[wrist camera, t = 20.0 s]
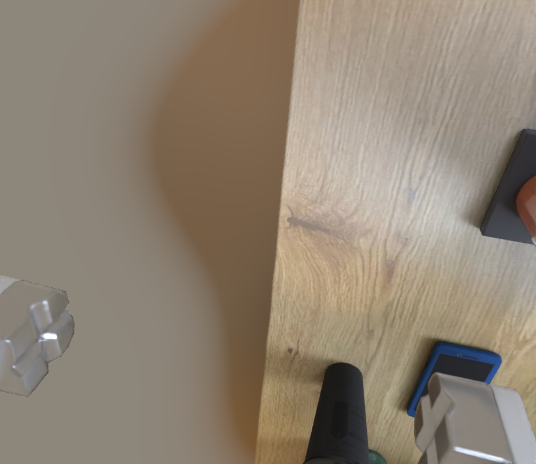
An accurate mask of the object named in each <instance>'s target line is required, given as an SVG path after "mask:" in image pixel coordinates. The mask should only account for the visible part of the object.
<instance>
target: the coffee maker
mask: <svg viewBox="0 0 536 464" xmlns="http://www.w3.org/2000/svg"><path fill="white" fill-rule="evenodd" d="M534 175H536V130H531V129H523V131H522V133H521V136H520V138H519V140H518V142H517V145H516V147H515V149H514V152H513V154H512V156H511V158H510V161H509V163H508V165H507V168H506V170H505V172H504V174H503V177H502V179H501V181H500V184H499V186H498V188H497V190H496V193H495V195H494V197H493V200H492V202H491V204H490V206H489V209H488V211H487V213H486V216H485V218H484V220H483V222H482V225H481V227H480V231H481V234H482V235H483V236H489V237H494V238H500V239H505V240H511V241H517V242H522V243H528V244H534V243H533V241H532V239H531V238H530V236H529V234H528V232H527V231H526V229H525V227H524V225H523V224H522V222H521V220H520V217H519V216H518V213H517V210H516V199H517V195H518V193H519V191H520V189H521V188H522V186H523V185H524V184H525V183H526V182H527V181H528V180H529V179H530V178H532V177H533V176H534ZM534 245H535V244H534Z"/></svg>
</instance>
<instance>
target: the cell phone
mask: <svg viewBox="0 0 536 464" xmlns="http://www.w3.org/2000/svg"><path fill="white" fill-rule="evenodd" d="M501 362H502V360H501V357H500V355H498V354H496V353H492V352H487V351H483V350H478V349H473V348H468V347H463V346H458V345H454V344H449V343H437V344H436V345H435V346H434V349H433V351H432V353H431V355H430V357H429V360H428V362H427V364H426V366H425V369H424V371H423V373H422V375H421V378H420V380H419V382H418V384H417V387H416V389H415V391H414V393H413V396H412V398H411V400H410V402H409V405H408V408H407V414H408V415H409V416H412V417H415V415H416V409H417V406H418V404H419V401H420V399H421V397H422V396H425V395H427V394H429V390H428V382H429V380H430V378H431V376H432V375H433V374H434V373H435V372H437V373H441V374H446V375H451V376H456V377H461V378H465V379H470V380H475V381H480V382H484V383H486V384H490V382H491V380H492V379H493V377H494V375H495V374H496V372H497V370H498V369H499V367H500V365H501Z"/></svg>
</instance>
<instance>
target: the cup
mask: <svg viewBox="0 0 536 464" xmlns="http://www.w3.org/2000/svg"><path fill="white" fill-rule="evenodd" d="M516 210H517V213H518V216H519V217H520V220H521V222H522V224H523V225H524V227H525V229H526V231H527V232H528V234H529V236H530V238H531V239H532V241H533V243H534V244H535V246H536V175H534V176H533V177H532V178H530V179H529V180H528V181H527V182H526V183H525V184H524V185H523V186H522V188H521V189H520V191H519V193H518V195H517V199H516Z"/></svg>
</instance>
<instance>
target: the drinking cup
mask: <svg viewBox="0 0 536 464" xmlns="http://www.w3.org/2000/svg"><path fill="white" fill-rule="evenodd" d="M303 464H370V463H369V450H368V438H367V426H366V414H365V401H364V389H363V377H362V373H361V372H360V370H359V369H358V368H356V367H355V366H353V365H350V364H347V363H335V364H332V365H330V366H329V367H328V368H327V369H326V372H325V376H324V380H323V385H322V389H321V393H320V397H319V402H318V406H317V410H316V415H315V419H314V423H313V427H312V432H311V436H310V440H309V444H308V449H307V453H306V457H305V462H304V463H303Z"/></svg>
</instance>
